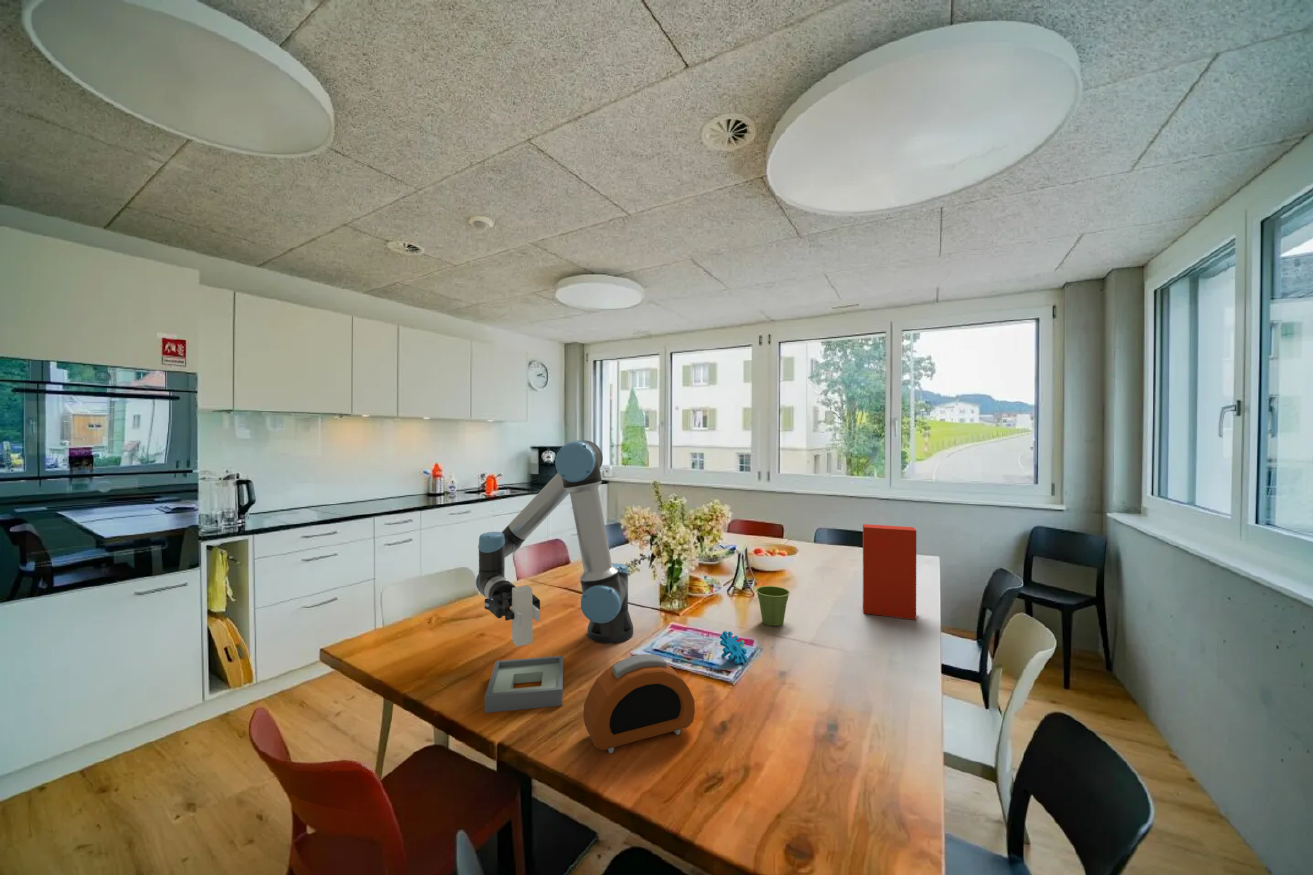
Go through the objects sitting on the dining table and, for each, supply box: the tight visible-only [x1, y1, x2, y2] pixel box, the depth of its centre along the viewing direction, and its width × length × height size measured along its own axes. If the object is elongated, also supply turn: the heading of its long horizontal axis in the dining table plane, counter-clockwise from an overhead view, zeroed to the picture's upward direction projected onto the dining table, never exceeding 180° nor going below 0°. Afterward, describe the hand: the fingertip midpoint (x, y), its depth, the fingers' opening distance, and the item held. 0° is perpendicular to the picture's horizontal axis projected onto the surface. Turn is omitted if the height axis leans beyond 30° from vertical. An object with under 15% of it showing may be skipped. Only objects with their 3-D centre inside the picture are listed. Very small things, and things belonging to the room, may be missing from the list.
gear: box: [719, 630, 748, 665], centre depth 142 cm, size 11×6×10 cm
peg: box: [511, 584, 534, 648], centre depth 125 cm, size 4×4×14 cm
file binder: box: [862, 523, 917, 621], centre depth 178 cm, size 8×17×32 cm, turn 69°
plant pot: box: [755, 585, 791, 627], centre depth 169 cm, size 12×12×11 cm
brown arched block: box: [582, 653, 696, 754], centre depth 106 cm, size 23×9×17 cm, turn 114°
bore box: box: [484, 655, 564, 714], centre depth 124 cm, size 18×18×4 cm
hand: (529, 617), depth 120 cm, fingers closed on peg, 4 cm apart
